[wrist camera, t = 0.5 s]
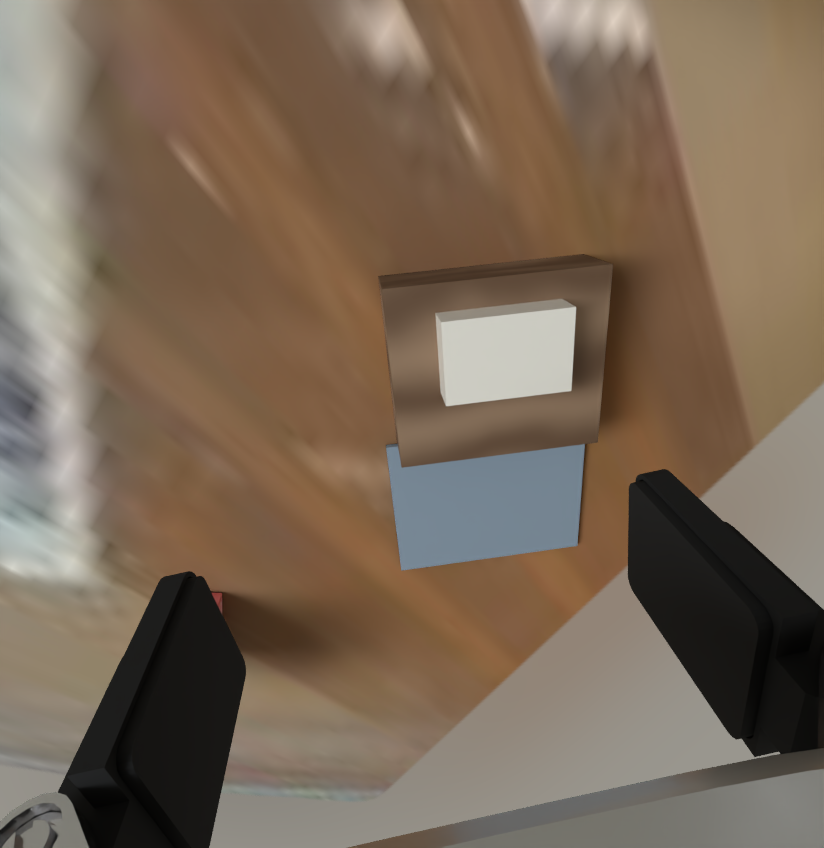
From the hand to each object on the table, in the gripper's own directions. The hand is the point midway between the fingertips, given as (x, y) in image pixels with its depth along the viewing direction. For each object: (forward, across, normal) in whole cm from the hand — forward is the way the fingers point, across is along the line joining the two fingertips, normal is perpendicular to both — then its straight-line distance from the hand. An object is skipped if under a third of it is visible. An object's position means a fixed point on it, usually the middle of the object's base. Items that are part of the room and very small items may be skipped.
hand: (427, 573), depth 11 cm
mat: (+31, -6, +21) cm, 38 cm away
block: (+26, -8, +5) cm, 28 cm away
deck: (+31, -8, +7) cm, 33 cm away
